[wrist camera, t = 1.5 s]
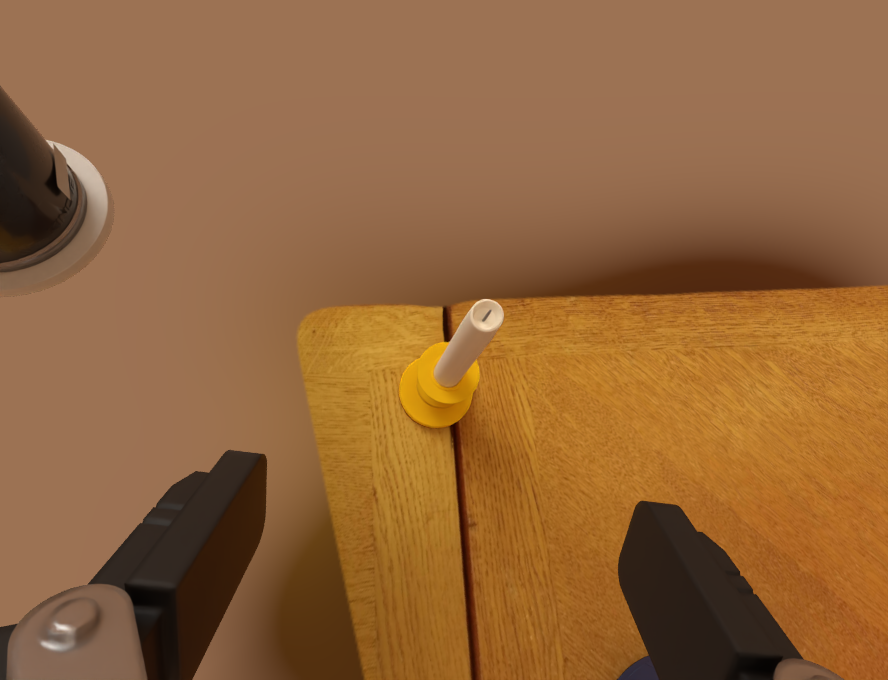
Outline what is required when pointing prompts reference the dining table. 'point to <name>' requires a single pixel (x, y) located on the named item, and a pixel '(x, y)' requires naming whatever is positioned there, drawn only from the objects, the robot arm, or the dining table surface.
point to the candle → (449, 370)
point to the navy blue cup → (640, 671)
